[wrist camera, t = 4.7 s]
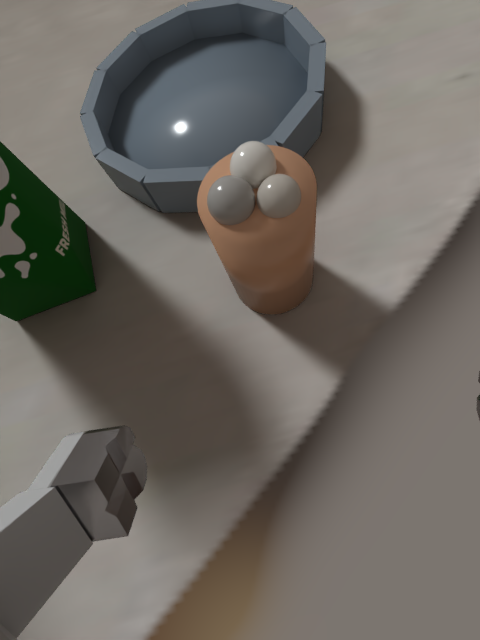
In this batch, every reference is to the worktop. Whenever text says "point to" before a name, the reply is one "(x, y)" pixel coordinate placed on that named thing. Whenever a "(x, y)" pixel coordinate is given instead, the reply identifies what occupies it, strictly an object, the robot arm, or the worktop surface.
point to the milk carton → (38, 244)
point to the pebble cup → (263, 223)
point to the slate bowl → (203, 95)
